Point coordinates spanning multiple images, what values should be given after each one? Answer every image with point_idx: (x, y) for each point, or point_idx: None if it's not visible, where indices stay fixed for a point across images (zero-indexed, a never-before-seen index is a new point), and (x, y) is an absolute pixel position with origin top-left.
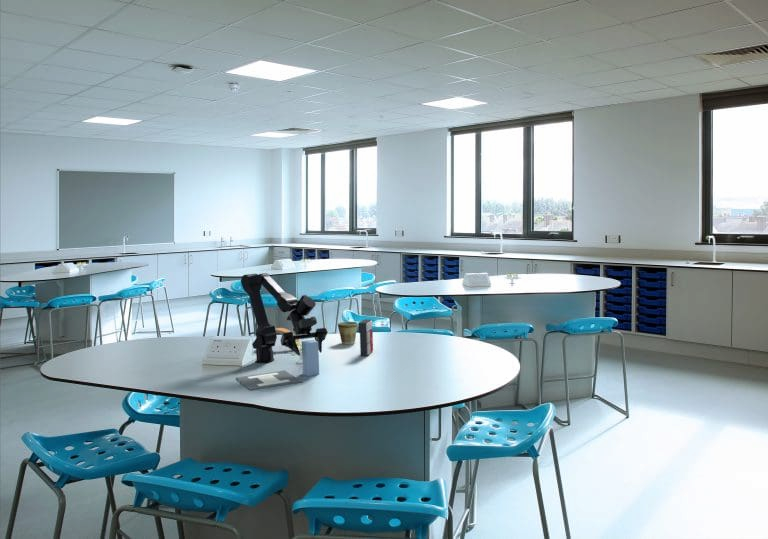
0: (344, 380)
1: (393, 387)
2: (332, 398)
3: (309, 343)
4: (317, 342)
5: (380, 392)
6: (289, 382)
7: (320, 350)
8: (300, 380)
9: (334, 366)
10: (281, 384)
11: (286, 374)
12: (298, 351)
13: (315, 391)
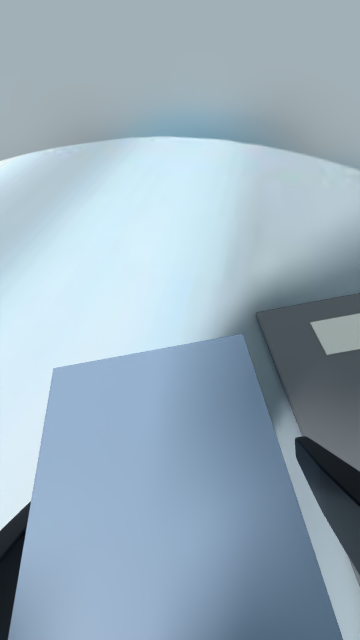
0: (110, 286)
1: (49, 208)
2: (196, 176)
3: (190, 344)
4: (68, 367)
5: (92, 189)
6: (312, 309)
7: None
8: (263, 321)
9: None
10: (345, 296)
11: None
12: (326, 455)
13: (224, 218)
